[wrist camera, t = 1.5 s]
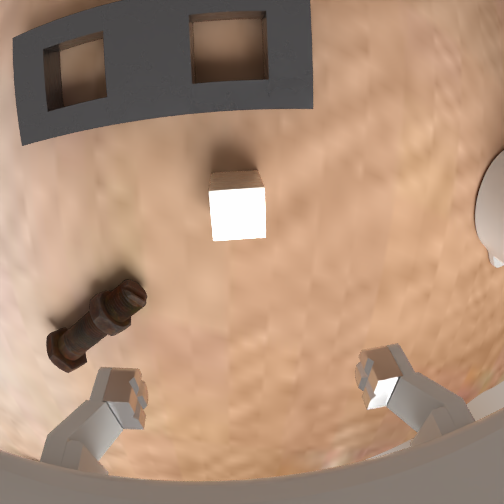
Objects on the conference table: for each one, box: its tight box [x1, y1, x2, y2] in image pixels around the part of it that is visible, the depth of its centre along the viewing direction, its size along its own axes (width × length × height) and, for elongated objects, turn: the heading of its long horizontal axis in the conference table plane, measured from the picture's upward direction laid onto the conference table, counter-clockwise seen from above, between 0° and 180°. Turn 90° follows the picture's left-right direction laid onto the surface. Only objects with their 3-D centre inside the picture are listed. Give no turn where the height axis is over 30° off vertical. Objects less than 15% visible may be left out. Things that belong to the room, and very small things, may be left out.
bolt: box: [46, 279, 147, 373], centre depth 32 cm, size 6×5×15 cm
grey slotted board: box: [13, 0, 313, 146], centre depth 20 cm, size 24×10×3 cm, turn 92°
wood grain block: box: [209, 170, 266, 241], centre depth 26 cm, size 4×4×5 cm
